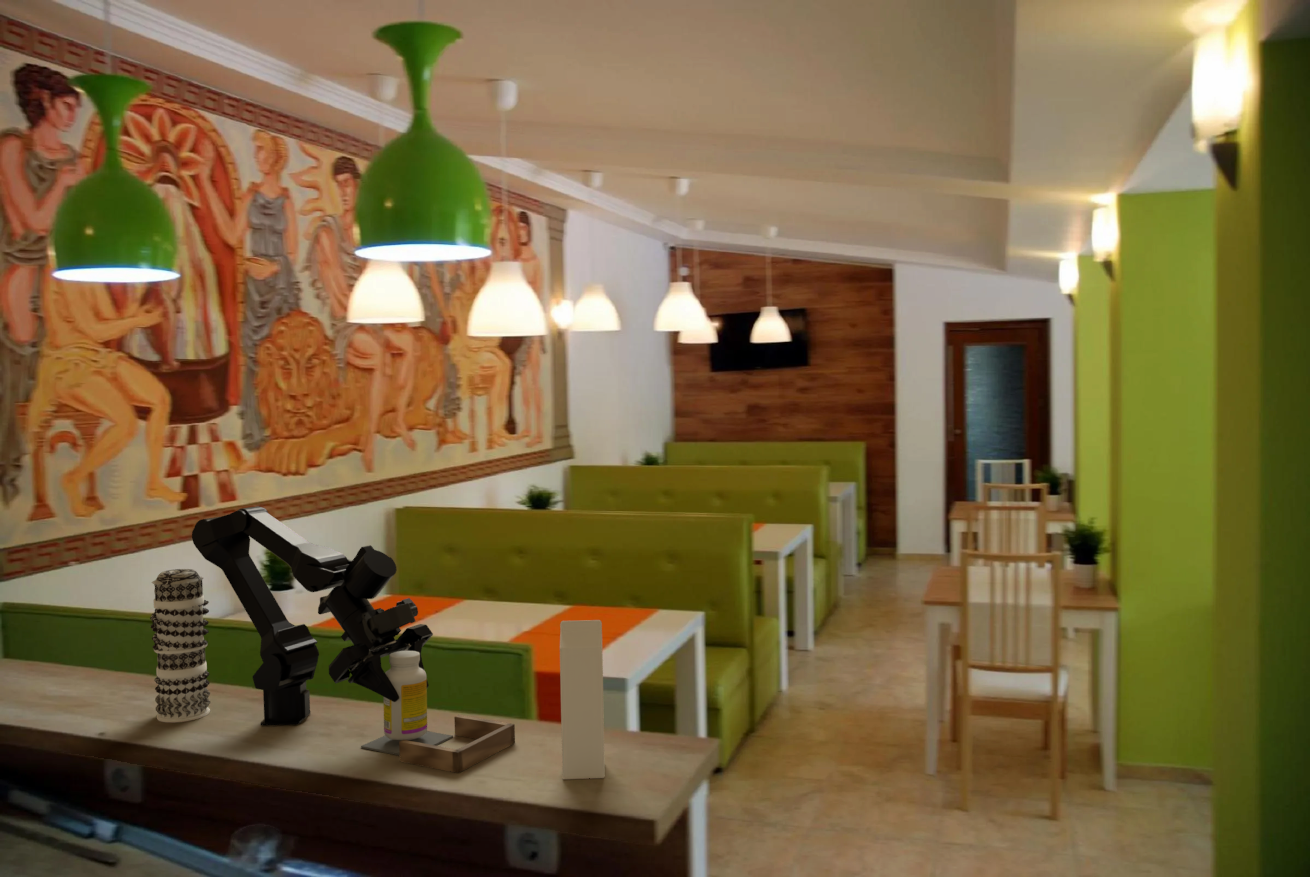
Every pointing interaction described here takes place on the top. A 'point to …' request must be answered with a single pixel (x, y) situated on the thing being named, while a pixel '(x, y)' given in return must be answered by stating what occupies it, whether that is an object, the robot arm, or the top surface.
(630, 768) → the top surface
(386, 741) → the mat
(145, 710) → the top surface
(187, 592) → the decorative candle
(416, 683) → the supplement bottle
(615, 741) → the top surface
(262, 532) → the robot arm
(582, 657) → the beige tall block
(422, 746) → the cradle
